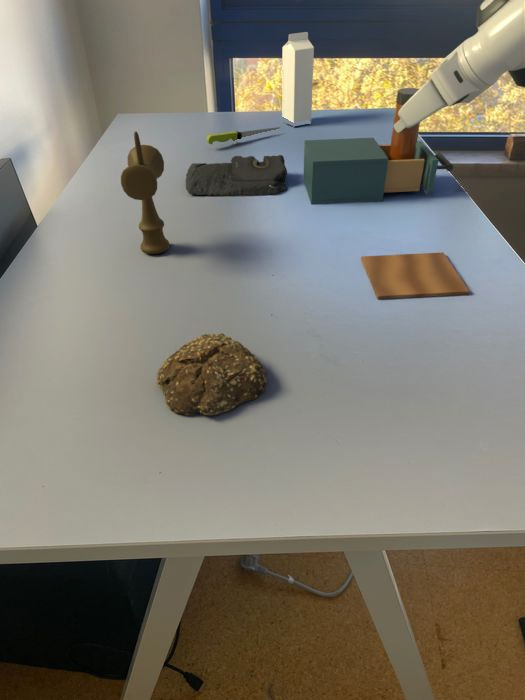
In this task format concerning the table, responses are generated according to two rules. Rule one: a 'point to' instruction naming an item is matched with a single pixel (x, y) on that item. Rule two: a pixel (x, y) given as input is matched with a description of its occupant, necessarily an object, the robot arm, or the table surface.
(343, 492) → the table surface
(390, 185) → the drawer
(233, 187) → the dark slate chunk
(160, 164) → the kendama
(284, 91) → the milk
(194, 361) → the bread roll
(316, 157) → the cabinet
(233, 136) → the kitchen knife
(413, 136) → the spice jar
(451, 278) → the wooden board
